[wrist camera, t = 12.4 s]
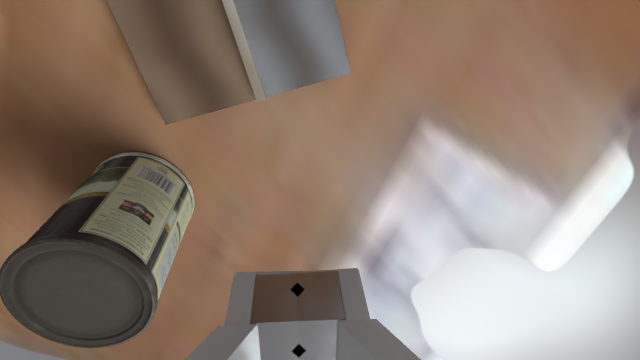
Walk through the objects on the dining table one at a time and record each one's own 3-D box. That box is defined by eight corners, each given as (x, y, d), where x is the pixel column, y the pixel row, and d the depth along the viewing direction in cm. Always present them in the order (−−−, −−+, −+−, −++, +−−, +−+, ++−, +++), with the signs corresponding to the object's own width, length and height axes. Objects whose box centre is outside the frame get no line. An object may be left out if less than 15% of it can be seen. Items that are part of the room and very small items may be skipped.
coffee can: (90, 231, 41) (5, 342, 29) (88, 142, 37) (-14, 228, 24) (191, 245, 43) (151, 356, 31) (200, 162, 39) (159, 252, 26)
